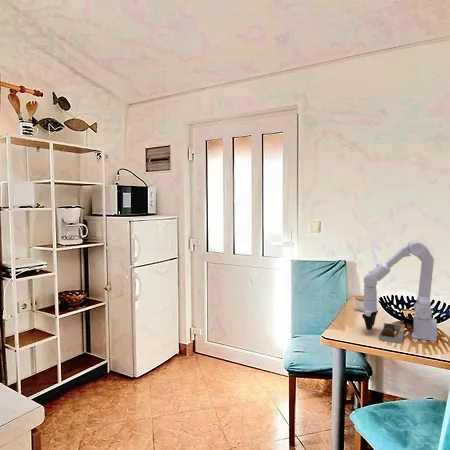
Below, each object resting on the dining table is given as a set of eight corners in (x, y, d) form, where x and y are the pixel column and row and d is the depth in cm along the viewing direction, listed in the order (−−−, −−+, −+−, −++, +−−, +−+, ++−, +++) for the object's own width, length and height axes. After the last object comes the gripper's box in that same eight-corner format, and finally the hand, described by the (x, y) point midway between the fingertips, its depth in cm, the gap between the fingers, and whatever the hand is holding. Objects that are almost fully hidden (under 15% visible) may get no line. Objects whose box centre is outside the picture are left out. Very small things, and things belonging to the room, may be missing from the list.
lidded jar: (351, 309, 212) (351, 293, 212) (364, 307, 217) (364, 292, 216) (365, 314, 202) (365, 297, 202) (379, 311, 207) (379, 295, 207)
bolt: (391, 334, 174) (389, 343, 160) (381, 328, 176) (378, 336, 162) (398, 325, 172) (396, 333, 159) (388, 318, 174) (386, 326, 161)
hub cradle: (404, 329, 175) (404, 323, 175) (401, 343, 156) (401, 337, 156) (383, 326, 179) (384, 321, 179) (378, 340, 161) (378, 333, 161)
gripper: (363, 295, 180) (363, 322, 181) (358, 301, 168) (358, 330, 168) (379, 296, 177) (379, 324, 177) (375, 303, 164) (375, 332, 165)
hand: (370, 327), depth 172 cm, fingers open, 7 cm apart
